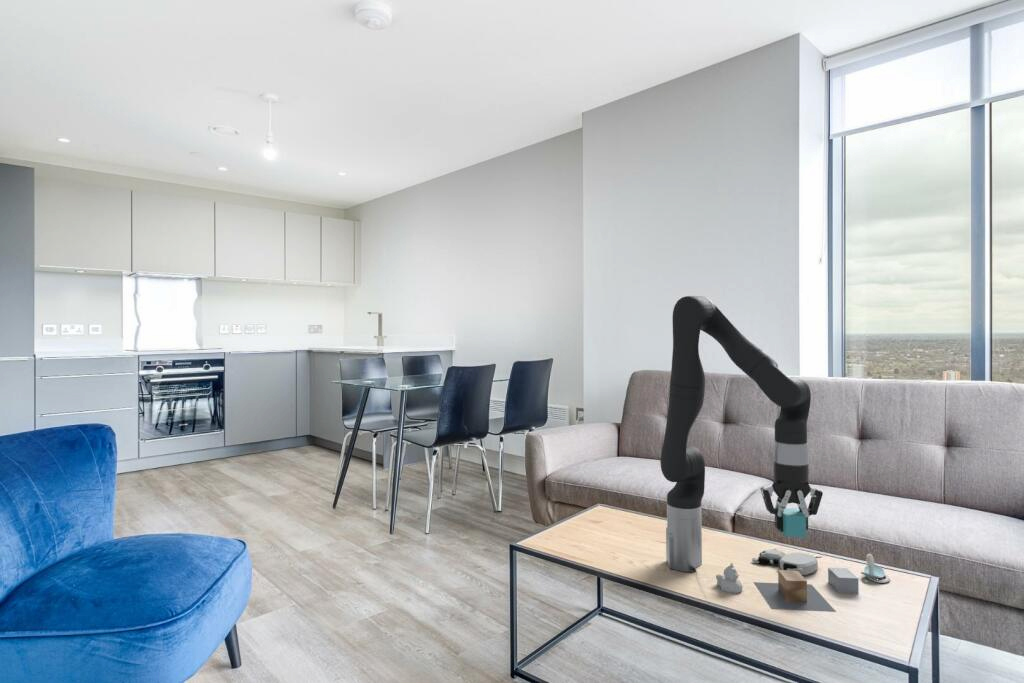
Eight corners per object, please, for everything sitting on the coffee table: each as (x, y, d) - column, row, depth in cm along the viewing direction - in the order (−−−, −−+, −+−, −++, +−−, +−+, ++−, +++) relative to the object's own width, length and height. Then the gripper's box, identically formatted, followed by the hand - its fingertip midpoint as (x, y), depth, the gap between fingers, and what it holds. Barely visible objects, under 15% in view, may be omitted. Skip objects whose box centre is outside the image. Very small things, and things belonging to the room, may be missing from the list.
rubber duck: (736, 601, 136) (736, 568, 136) (711, 592, 141) (710, 560, 141) (746, 593, 140) (746, 561, 140) (721, 585, 145) (721, 554, 145)
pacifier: (892, 578, 148) (866, 571, 152) (893, 555, 148) (867, 548, 152) (885, 587, 143) (858, 579, 147) (886, 563, 142) (859, 556, 147)
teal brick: (786, 536, 133) (785, 515, 133) (777, 528, 139) (777, 507, 139) (806, 537, 132) (806, 516, 132) (796, 528, 138) (796, 508, 138)
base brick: (787, 601, 133) (786, 580, 133) (778, 590, 139) (778, 569, 139) (807, 602, 132) (806, 581, 132) (797, 590, 138) (797, 570, 138)
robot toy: (749, 570, 156) (805, 584, 144) (748, 554, 156) (804, 566, 144) (770, 559, 163) (825, 571, 152) (769, 543, 164) (824, 554, 152)
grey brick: (838, 598, 137) (838, 577, 137) (828, 587, 143) (828, 567, 143) (858, 598, 136) (858, 578, 136) (847, 587, 142) (847, 568, 142)
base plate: (771, 613, 130) (771, 608, 130) (753, 586, 143) (753, 582, 143) (836, 616, 128) (836, 611, 128) (811, 589, 142) (811, 584, 142)
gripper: (764, 463, 133) (765, 535, 133) (829, 464, 131) (829, 537, 131) (755, 456, 140) (755, 525, 140) (816, 457, 138) (816, 526, 138)
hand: (791, 530), depth 136 cm, fingers closed on teal brick, 4 cm apart
